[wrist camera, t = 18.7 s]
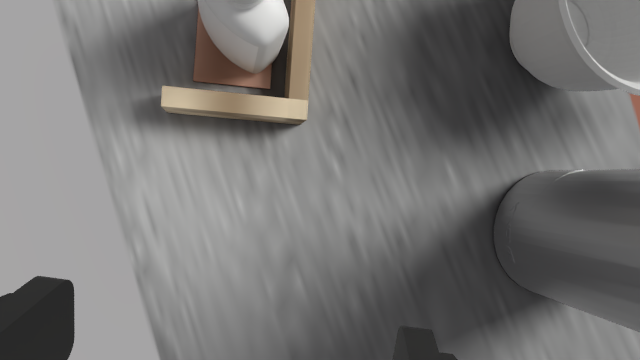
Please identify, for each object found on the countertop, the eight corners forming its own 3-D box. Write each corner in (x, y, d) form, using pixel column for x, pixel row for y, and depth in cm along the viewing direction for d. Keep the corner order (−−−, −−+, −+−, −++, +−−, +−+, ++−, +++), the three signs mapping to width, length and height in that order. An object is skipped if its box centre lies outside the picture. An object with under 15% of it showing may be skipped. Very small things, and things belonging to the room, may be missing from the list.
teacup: (584, 173, 38) (710, 172, 28) (437, 48, 35) (517, -1, 26) (666, 51, 39) (815, 8, 29) (529, -77, 37) (639, -171, 27)
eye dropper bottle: (216, 83, 32) (209, 28, 21) (196, -2, 32) (176, -107, 20) (281, 70, 33) (310, 11, 21) (261, -13, 33) (280, -120, 21)
